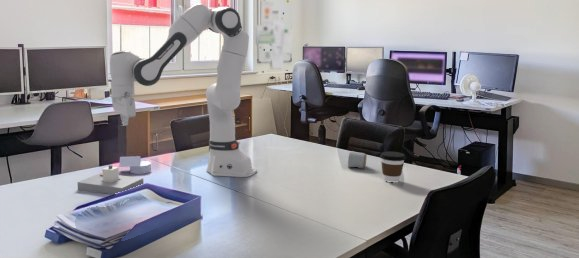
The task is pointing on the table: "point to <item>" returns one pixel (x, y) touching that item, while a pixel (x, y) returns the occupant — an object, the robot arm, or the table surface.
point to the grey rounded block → (357, 159)
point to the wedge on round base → (135, 164)
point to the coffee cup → (392, 165)
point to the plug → (110, 174)
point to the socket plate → (108, 184)
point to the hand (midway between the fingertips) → (125, 124)
